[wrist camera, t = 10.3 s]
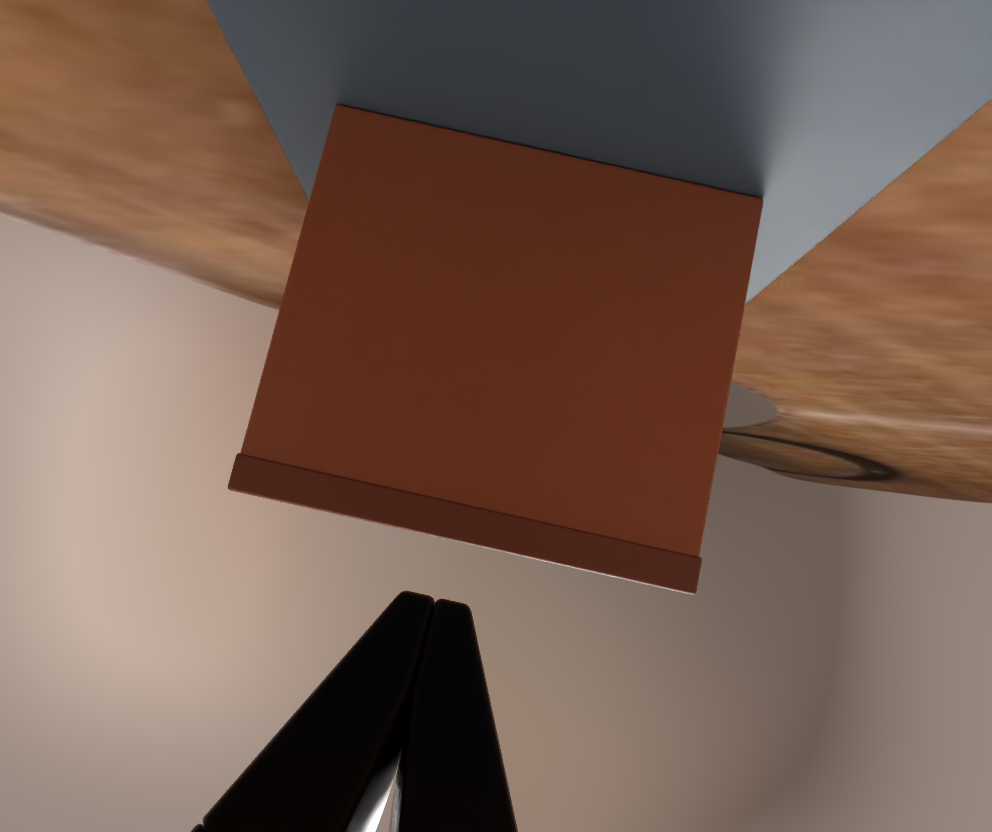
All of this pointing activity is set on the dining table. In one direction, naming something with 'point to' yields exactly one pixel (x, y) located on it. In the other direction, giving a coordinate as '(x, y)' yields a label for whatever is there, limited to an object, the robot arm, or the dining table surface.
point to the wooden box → (505, 349)
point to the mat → (642, 87)
